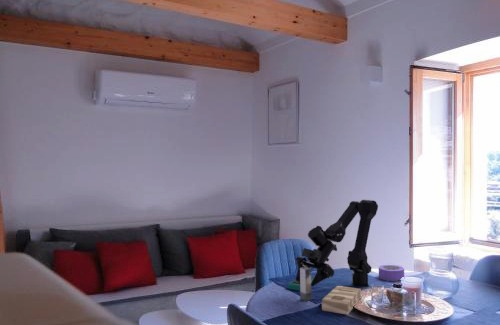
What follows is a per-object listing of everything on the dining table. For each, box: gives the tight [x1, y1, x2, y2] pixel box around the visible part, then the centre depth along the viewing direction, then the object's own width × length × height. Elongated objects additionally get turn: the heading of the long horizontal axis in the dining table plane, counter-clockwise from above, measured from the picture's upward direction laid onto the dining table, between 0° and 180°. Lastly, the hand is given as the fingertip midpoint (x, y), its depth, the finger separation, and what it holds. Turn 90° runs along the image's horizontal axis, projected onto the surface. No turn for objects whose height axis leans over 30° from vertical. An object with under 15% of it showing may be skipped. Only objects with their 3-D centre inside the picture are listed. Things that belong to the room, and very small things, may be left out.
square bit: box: [300, 267, 313, 302], centre depth 175 cm, size 3×3×13 cm
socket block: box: [321, 285, 362, 315], centre depth 168 cm, size 20×10×4 cm, turn 151°
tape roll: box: [378, 264, 405, 282], centre depth 204 cm, size 12×12×5 cm
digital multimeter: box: [287, 277, 314, 291], centre depth 194 cm, size 7×15×3 cm, turn 148°
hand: (303, 282), depth 174 cm, fingers open, 9 cm apart
